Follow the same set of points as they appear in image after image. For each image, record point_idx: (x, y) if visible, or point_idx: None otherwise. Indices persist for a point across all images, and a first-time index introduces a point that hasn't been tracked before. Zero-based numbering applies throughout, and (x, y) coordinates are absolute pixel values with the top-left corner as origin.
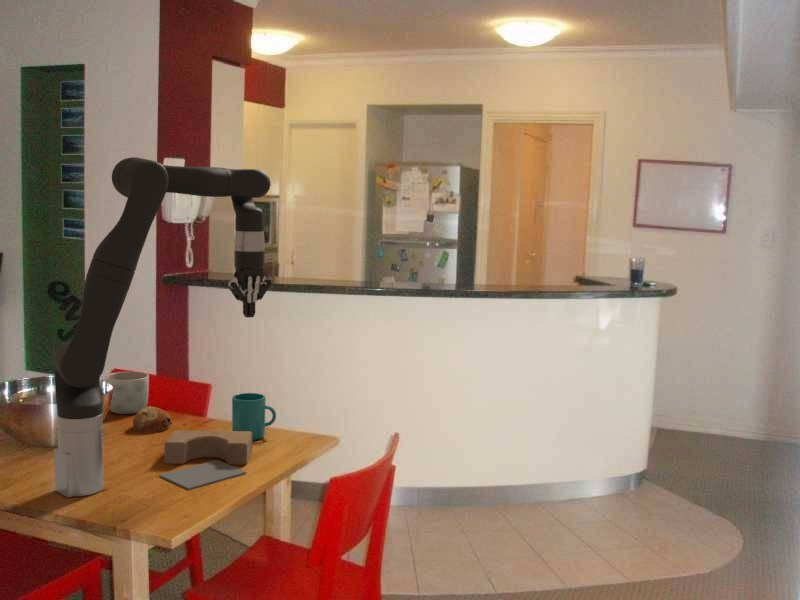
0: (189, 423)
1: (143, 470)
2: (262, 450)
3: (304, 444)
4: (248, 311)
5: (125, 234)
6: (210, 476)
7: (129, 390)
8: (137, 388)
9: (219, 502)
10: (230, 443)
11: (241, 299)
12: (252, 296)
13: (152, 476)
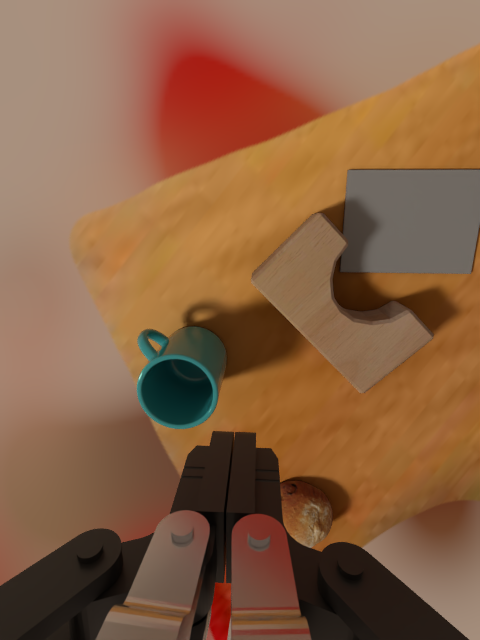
0: None
1: (463, 321)
2: (230, 267)
3: (140, 239)
4: (256, 468)
5: None
6: (414, 197)
7: None
8: None
9: None
10: (343, 239)
11: (378, 566)
12: (199, 587)
13: (476, 282)
